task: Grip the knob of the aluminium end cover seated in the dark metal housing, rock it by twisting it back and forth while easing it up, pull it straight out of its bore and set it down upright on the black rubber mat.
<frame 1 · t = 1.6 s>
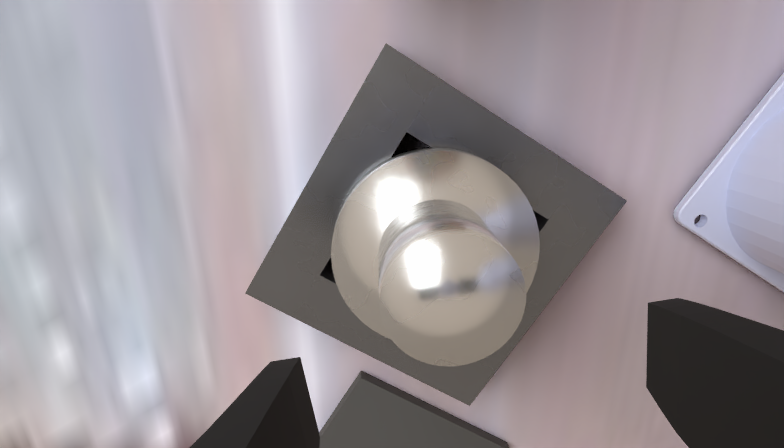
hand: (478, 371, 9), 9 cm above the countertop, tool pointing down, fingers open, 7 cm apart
housing: (426, 230, 18), on the countertop
end cover: (437, 260, 15), in the housing
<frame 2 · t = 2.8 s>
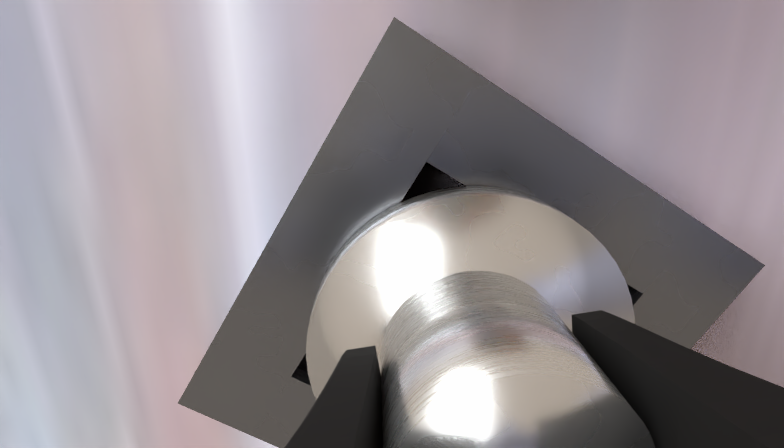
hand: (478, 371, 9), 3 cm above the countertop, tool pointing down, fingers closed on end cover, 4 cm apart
housing: (450, 297, 13), on the countertop
end cover: (476, 367, 10), in the housing, touching gripper
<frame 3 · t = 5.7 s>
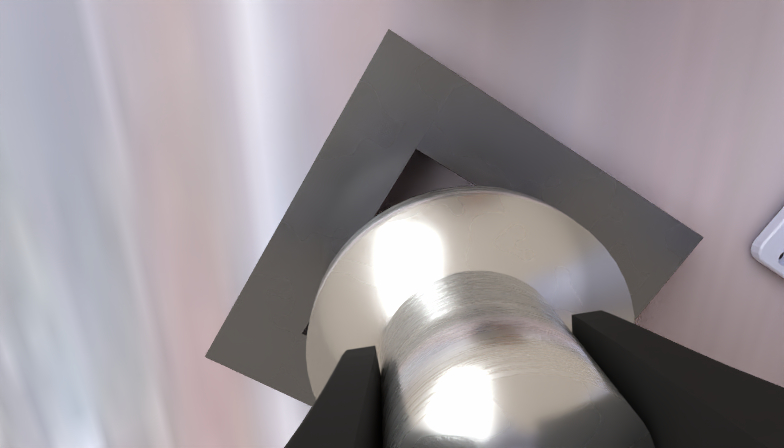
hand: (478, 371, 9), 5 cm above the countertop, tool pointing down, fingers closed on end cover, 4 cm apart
housing: (439, 269, 15), on the countertop
end cover: (476, 367, 10), point 5 cm above the countertop, touching gripper
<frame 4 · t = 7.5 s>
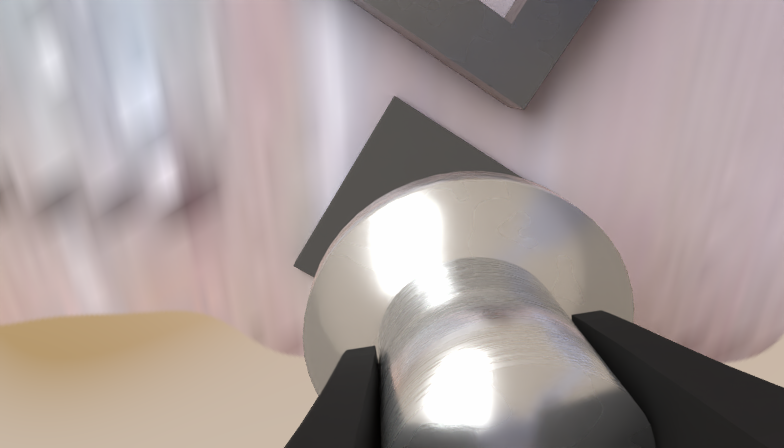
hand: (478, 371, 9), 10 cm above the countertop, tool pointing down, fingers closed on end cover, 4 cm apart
mat: (424, 231, 19), on the countertop
end cover: (474, 353, 9), point 10 cm above the countertop, touching gripper
when the fingers open (5 cm above the countertop, at t = 8.9 s): end cover drops 1 cm, resting on mat.
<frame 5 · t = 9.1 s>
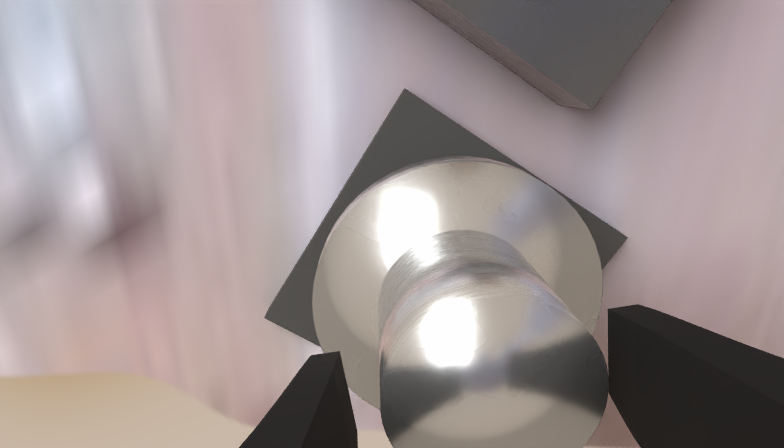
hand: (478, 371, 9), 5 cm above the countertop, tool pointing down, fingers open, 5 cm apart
mat: (441, 271, 14), on the countertop
end cover: (462, 315, 11), on the mat
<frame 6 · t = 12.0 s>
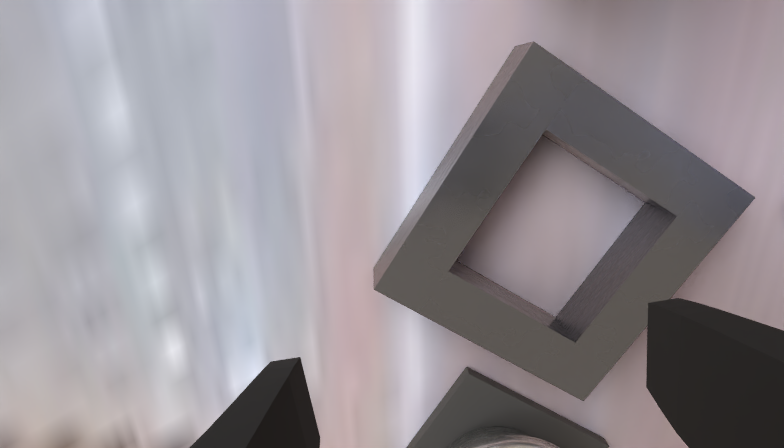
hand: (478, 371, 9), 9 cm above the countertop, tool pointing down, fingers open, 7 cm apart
housing: (542, 227, 19), on the countertop
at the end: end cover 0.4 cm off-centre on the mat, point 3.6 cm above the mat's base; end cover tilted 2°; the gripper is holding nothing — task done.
